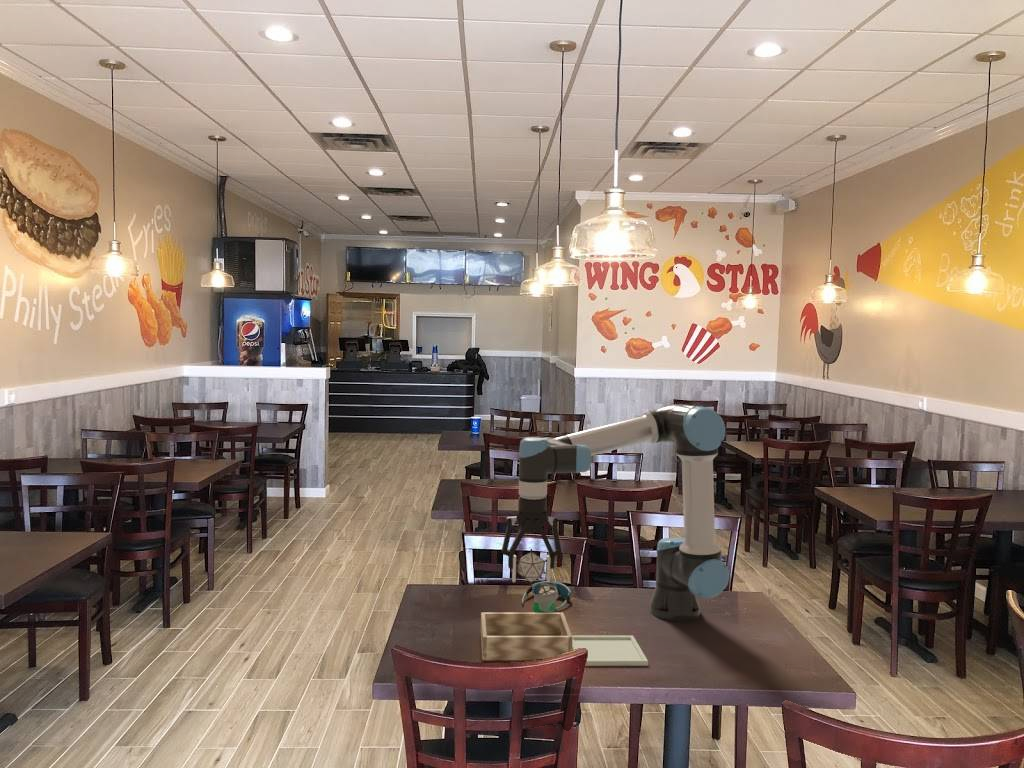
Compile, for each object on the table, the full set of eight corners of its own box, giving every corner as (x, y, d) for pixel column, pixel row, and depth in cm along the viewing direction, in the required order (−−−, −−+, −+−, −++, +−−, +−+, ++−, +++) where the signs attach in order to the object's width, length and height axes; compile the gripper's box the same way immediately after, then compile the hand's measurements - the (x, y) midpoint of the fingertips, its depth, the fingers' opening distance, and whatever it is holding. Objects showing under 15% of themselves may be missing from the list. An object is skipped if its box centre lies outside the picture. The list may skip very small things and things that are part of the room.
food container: (554, 632, 215) (555, 597, 214) (532, 629, 216) (533, 595, 216) (560, 617, 227) (561, 583, 227) (539, 615, 228) (540, 582, 228)
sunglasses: (576, 599, 242) (576, 584, 242) (558, 619, 229) (558, 603, 228) (535, 591, 248) (535, 577, 248) (516, 611, 235) (516, 595, 234)
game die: (513, 580, 207) (514, 544, 207) (544, 580, 208) (545, 543, 207) (516, 591, 198) (517, 553, 198) (548, 590, 199) (549, 552, 199)
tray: (632, 639, 211) (633, 635, 211) (647, 665, 194) (648, 660, 194) (568, 639, 209) (568, 635, 209) (577, 665, 192) (577, 661, 192)
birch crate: (562, 633, 214) (563, 612, 214) (571, 660, 196) (572, 637, 196) (480, 633, 212) (481, 612, 212) (482, 660, 194) (482, 637, 194)
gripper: (570, 493, 206) (568, 576, 208) (492, 493, 205) (490, 576, 206) (574, 499, 199) (572, 584, 200) (493, 498, 198) (491, 584, 199)
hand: (530, 580), depth 203 cm, fingers closed on game die, 8 cm apart
